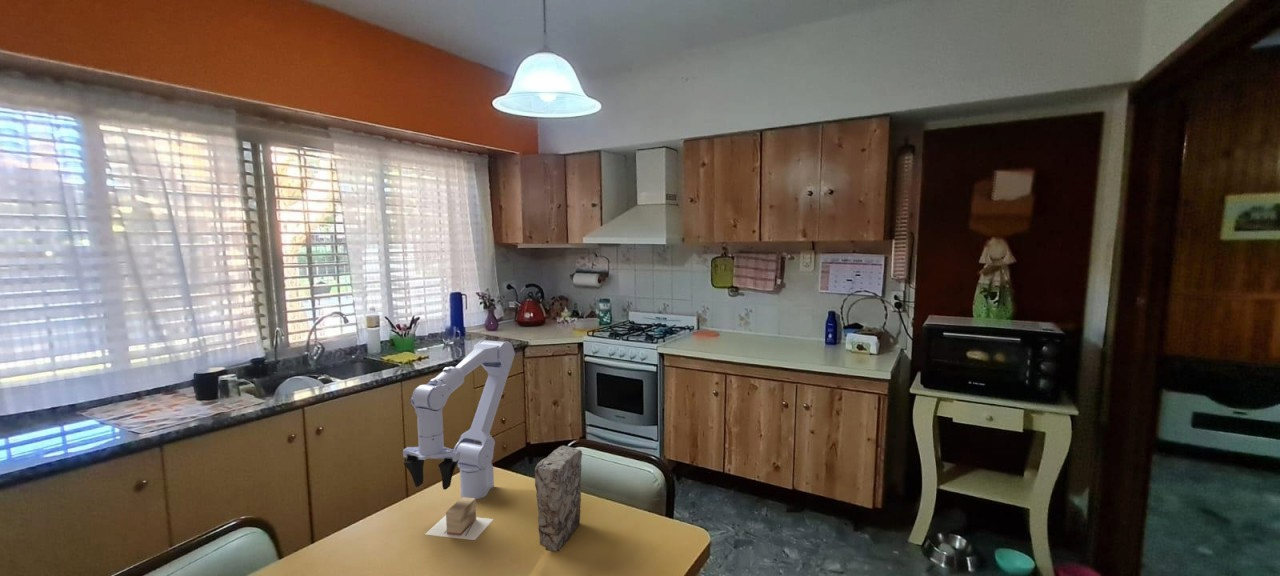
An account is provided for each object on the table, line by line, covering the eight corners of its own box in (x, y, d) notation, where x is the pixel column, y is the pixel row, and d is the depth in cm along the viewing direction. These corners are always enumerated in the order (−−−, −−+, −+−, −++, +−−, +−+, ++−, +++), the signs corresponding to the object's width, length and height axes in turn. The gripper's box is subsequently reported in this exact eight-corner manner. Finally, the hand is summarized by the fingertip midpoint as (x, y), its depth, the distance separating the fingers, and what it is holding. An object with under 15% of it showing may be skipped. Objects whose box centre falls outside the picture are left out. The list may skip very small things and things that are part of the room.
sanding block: (463, 518, 121) (462, 497, 120) (476, 519, 120) (475, 498, 120) (446, 534, 114) (445, 511, 113) (460, 535, 113) (459, 513, 113)
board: (446, 518, 123) (446, 514, 123) (493, 523, 120) (493, 518, 120) (424, 539, 114) (424, 534, 114) (475, 545, 111) (474, 540, 111)
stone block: (564, 554, 108) (562, 468, 106) (535, 550, 109) (533, 465, 108) (584, 522, 120) (582, 445, 119) (558, 519, 122) (556, 442, 121)
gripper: (393, 437, 116) (396, 491, 117) (447, 441, 113) (450, 496, 114) (412, 426, 123) (414, 478, 124) (464, 430, 120) (466, 482, 121)
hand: (432, 486), depth 119 cm, fingers open, 7 cm apart
